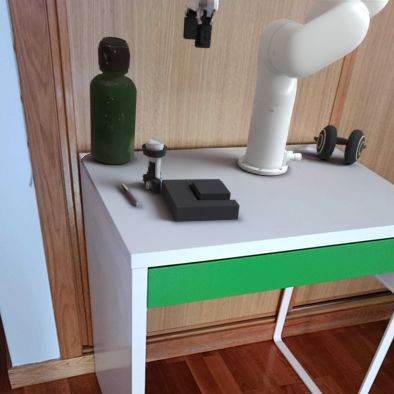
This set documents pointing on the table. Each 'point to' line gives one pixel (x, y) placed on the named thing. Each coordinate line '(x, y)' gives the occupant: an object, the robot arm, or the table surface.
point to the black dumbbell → (330, 139)
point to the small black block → (210, 190)
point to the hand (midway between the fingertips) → (196, 43)
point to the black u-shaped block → (195, 203)
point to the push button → (153, 164)
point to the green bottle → (113, 104)
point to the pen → (129, 194)
